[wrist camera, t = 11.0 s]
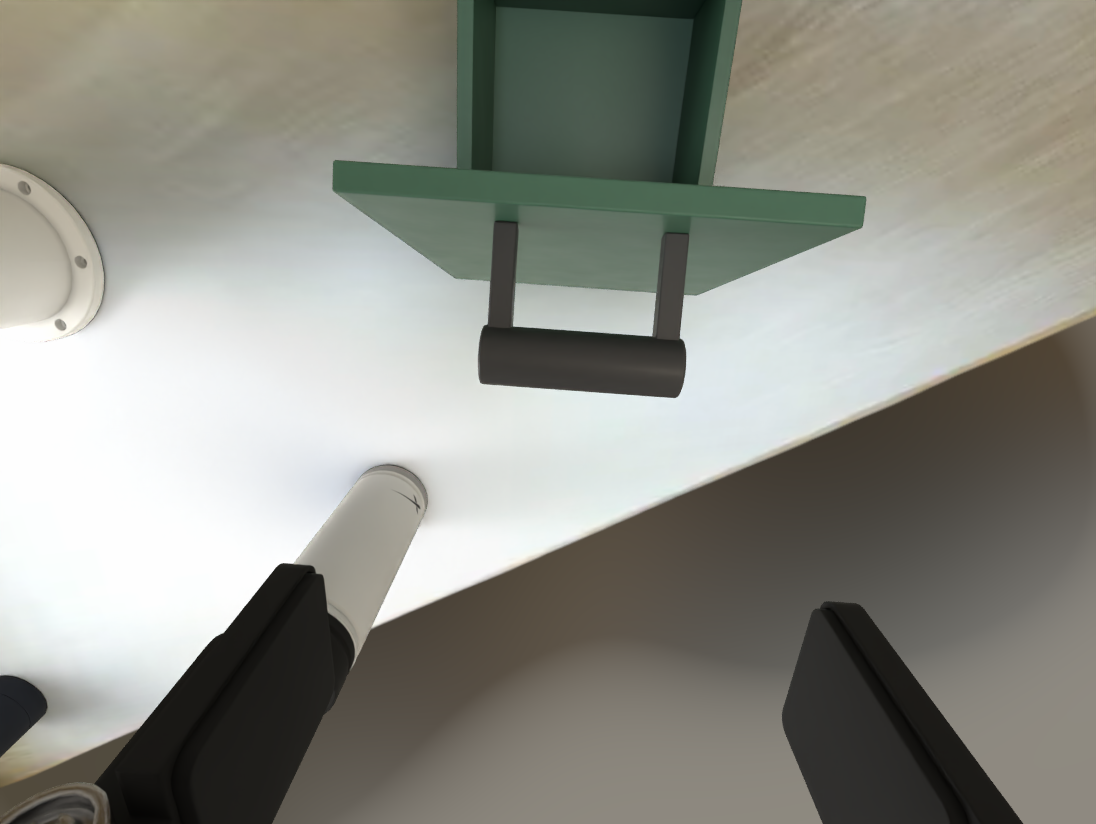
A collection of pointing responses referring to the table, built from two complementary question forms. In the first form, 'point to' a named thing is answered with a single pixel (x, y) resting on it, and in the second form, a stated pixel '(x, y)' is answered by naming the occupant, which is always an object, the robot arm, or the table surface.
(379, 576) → the travel mug
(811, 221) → the lid
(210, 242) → the table surface
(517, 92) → the chest
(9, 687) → the dark blue water bottle
